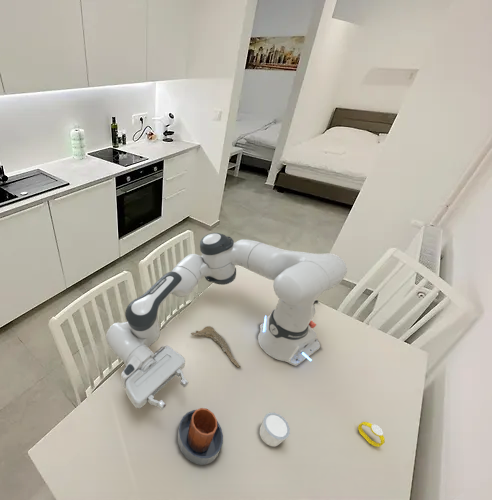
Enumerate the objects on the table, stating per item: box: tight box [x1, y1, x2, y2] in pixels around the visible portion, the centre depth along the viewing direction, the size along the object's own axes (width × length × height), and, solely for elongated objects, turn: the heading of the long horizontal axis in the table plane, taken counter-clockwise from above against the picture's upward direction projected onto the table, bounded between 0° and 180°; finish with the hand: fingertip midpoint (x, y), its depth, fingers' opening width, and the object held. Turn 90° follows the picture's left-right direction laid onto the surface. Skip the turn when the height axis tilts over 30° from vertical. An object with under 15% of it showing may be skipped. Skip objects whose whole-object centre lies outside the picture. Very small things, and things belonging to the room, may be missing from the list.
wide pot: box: [177, 409, 224, 466], centre depth 79 cm, size 12×12×6 cm
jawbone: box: [190, 325, 242, 369], centre depth 106 cm, size 9×20×2 cm, turn 49°
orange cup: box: [187, 407, 218, 452], centre depth 77 cm, size 6×6×12 cm
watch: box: [357, 421, 386, 448], centre depth 80 cm, size 6×3×6 cm, turn 27°
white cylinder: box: [259, 412, 291, 447], centre depth 80 cm, size 7×7×7 cm
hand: (175, 396), depth 80 cm, fingers open, 8 cm apart
